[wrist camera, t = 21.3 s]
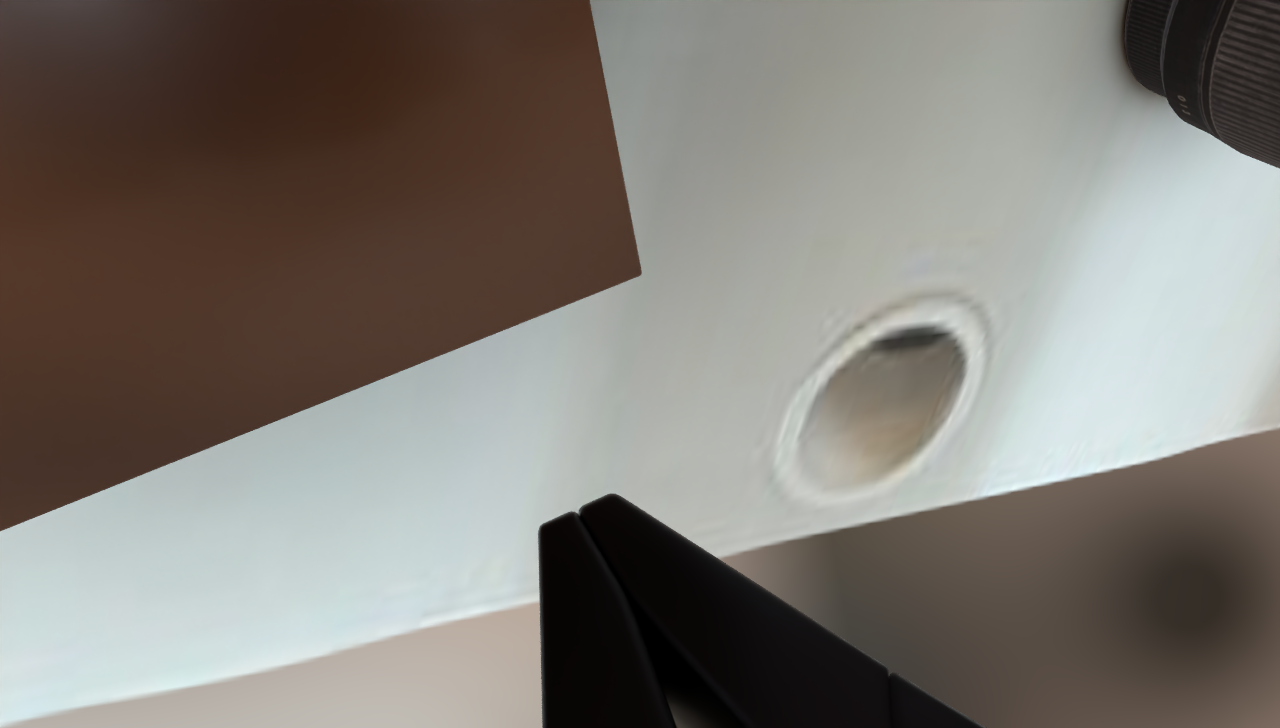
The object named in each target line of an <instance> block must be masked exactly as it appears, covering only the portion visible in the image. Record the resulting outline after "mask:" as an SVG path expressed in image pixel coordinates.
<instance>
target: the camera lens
mask: <svg viewBox="0 0 1280 728" xmlns="http://www.w3.org/2000/svg"><path fill="white" fill-rule="evenodd" d="M1124 43H1125V48H1126V54H1127V60H1128V64H1129V66H1130V68H1131V70H1132V72H1133V74H1134V76H1135V77H1136V79H1137V80H1138V81H1139V82H1140V83H1141V84H1142V85H1144V86H1145V87H1146V88H1147V89H1149V90H1151V91H1153V92H1155V93H1157V94H1159V95H1162V96H1164V97H1166V98H1167V100H1168V102H1169V104H1170V106H1171V107H1172V109H1173V110H1174V111H1175V113H1176V114H1177V115H1178V116H1179V117H1180V118H1181V119H1182V120H1183V121H1185V122H1187V123H1189V124H1191V125H1193V126H1195V127H1197V128H1199V129H1201V130H1203V131H1205V132H1207V133H1210V134H1211V135H1213V136H1214V137H1216V138H1217V139H1219V140H1221V141H1222V142H1224V143H1225V144H1227V145H1228V146H1230V147H1232V148H1233V149H1235V150H1237V151H1238V152H1240V153H1242V154H1245V155H1247V156H1250V157H1252V158H1255V159H1257V160H1260V161H1262V162H1265V163H1267V164H1270V165H1272V166H1275V167H1278V168H1280V0H1130V1H1129V6H1128V10H1127V15H1126V22H1125V41H1124Z"/></svg>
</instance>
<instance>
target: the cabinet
mask: <svg viewBox="0 0 1280 728" xmlns="http://www.w3.org/2000/svg"><path fill="white" fill-rule="evenodd" d="M641 274H642V271H641V266H640V260H639V255H638V250H637V245H636V240H635V234H634V229H633V224H632V219H631V214H630V208H629V203H628V198H627V193H626V188H625V182H624V177H623V172H622V167H621V162H620V156H619V151H618V146H617V141H616V136H615V130H614V125H613V120H612V115H611V110H610V104H609V99H608V94H607V89H606V83H605V78H604V73H603V68H602V63H601V57H600V52H599V47H598V42H597V37H596V31H595V26H594V21H593V16H592V11H591V5H590V0H0V531H2V530H5V529H7V528H10V527H12V526H15V525H17V524H20V523H22V522H25V521H27V520H30V519H32V518H35V517H37V516H40V515H42V514H45V513H47V512H50V511H52V510H55V509H57V508H60V507H62V506H65V505H67V504H70V503H72V502H75V501H77V500H80V499H82V498H85V497H87V496H90V495H92V494H95V493H97V492H100V491H102V490H105V489H107V488H110V487H112V486H115V485H117V484H120V483H122V482H125V481H127V480H130V479H132V478H135V477H137V476H140V475H142V474H145V473H147V472H150V471H152V470H155V469H157V468H160V467H162V466H165V465H167V464H170V463H172V462H175V461H177V460H180V459H182V458H185V457H187V456H190V455H192V454H195V453H197V452H200V451H202V450H205V449H207V448H210V447H212V446H215V445H217V444H220V443H222V442H225V441H227V440H230V439H232V438H235V437H238V436H240V435H243V434H245V433H248V432H250V431H253V430H255V429H258V428H260V427H263V426H265V425H268V424H270V423H273V422H275V421H278V420H280V419H283V418H285V417H288V416H290V415H293V414H295V413H298V412H300V411H303V410H305V409H308V408H310V407H313V406H315V405H318V404H320V403H323V402H325V401H328V400H330V399H333V398H335V397H338V396H340V395H343V394H345V393H348V392H350V391H353V390H355V389H358V388H360V387H363V386H365V385H368V384H370V383H373V382H375V381H378V380H380V379H383V378H385V377H388V376H390V375H393V374H395V373H398V372H400V371H403V370H405V369H408V368H410V367H413V366H415V365H418V364H420V363H423V362H425V361H428V360H430V359H433V358H435V357H438V356H440V355H443V354H445V353H448V352H450V351H453V350H455V349H458V348H460V347H463V346H465V345H468V344H470V343H473V342H475V341H478V340H480V339H483V338H485V337H488V336H490V335H493V334H495V333H498V332H500V331H503V330H505V329H508V328H510V327H513V326H515V325H518V324H520V323H523V322H525V321H528V320H530V319H533V318H535V317H538V316H540V315H543V314H545V313H548V312H550V311H553V310H555V309H558V308H560V307H563V306H565V305H568V304H570V303H573V302H575V301H578V300H580V299H583V298H585V297H588V296H590V295H593V294H595V293H598V292H600V291H603V290H605V289H608V288H610V287H613V286H615V285H618V284H620V283H623V282H625V281H628V280H630V279H633V278H635V277H638V276H640V275H641Z"/></svg>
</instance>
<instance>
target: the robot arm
mask: <svg viewBox="0 0 1280 728" xmlns="http://www.w3.org/2000/svg"><path fill="white" fill-rule="evenodd" d="M538 545H539V590H540V630H541V631H540V633H541V634H540V635H541V675H542V676H541V679H542V720H543V721H542V722H543V728H986V727H984V726H982V725H980V724H979V723H977V722H975V721H974V720H972V719H970V718H969V717H967V716H965V715H964V714H962V713H960V712H959V711H957V710H955V709H954V708H952V707H950V706H949V705H947V704H945V703H944V702H942V701H940V700H939V699H937V698H935V697H934V696H932V695H930V694H929V693H927V692H926V691H924V690H923V689H921V688H920V687H918V686H917V685H915V684H913V683H912V682H910V681H909V680H907V679H906V678H904V677H902V676H901V675H899V674H898V673H895V672H892V673H891V674H890V676H889V670H888V668H887V667H886V666H885V665H883V664H882V663H880V662H879V661H877V660H875V659H874V658H872V657H871V656H869V655H867V654H866V653H864V652H863V651H861V650H859V649H858V648H857V647H855V646H854V645H852V644H850V643H849V642H847V641H846V640H844V639H843V638H841V637H840V636H838V635H836V634H835V633H833V632H831V631H830V630H828V629H827V628H825V627H824V626H822V625H821V624H819V623H818V622H816V621H815V620H813V619H811V618H810V617H808V616H807V615H805V614H804V613H802V612H800V611H799V610H797V609H796V608H794V607H792V606H791V605H789V604H788V603H786V602H785V601H783V600H782V599H780V598H779V597H777V596H776V595H774V594H772V593H771V592H769V591H768V590H766V589H765V588H763V587H762V586H760V585H758V584H757V583H755V582H754V581H752V580H751V579H749V578H747V577H746V576H744V575H743V574H741V573H740V572H738V571H737V570H735V569H733V568H732V567H730V566H729V565H727V564H726V563H724V562H723V561H721V560H719V559H718V558H716V557H715V556H713V555H712V554H710V553H708V552H707V551H705V550H704V549H702V548H701V547H699V546H698V545H696V544H694V543H693V542H691V541H690V540H688V539H687V538H685V537H684V536H682V535H680V534H679V533H677V532H676V531H674V530H673V529H671V528H669V527H668V526H666V525H665V524H663V523H662V522H660V521H659V520H657V519H655V518H654V517H652V516H651V515H649V514H648V513H646V512H645V511H643V510H641V509H640V508H638V507H637V506H635V505H634V504H632V503H630V502H629V501H627V500H626V499H624V498H623V497H621V496H619V495H617V494H607V495H605V496H603V497H601V498H599V499H596V500H594V501H592V502H590V503H587V504H585V505H583V506H582V507H581V508H580V509H579V513H578V514H577V513H576V512H572V511H571V512H568V513H565V514H563V515H561V516H559V517H557V518H554V519H552V520H550V521H548V522H546V523H544V524H542V525H541V526H540V528H539V531H538Z"/></svg>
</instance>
